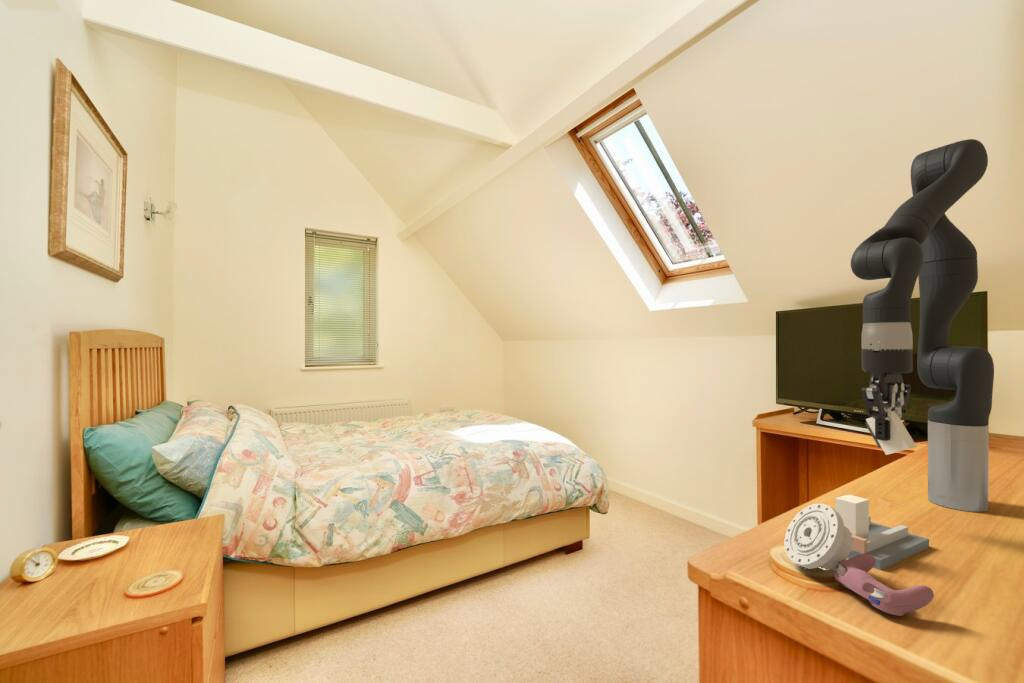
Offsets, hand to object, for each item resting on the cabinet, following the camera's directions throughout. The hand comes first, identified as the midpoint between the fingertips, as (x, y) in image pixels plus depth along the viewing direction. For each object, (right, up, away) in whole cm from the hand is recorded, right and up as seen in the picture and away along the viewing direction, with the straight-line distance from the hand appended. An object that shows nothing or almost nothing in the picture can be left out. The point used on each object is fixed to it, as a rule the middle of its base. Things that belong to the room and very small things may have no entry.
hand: (887, 438), depth 88 cm
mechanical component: (-27, -15, -16) cm, 35 cm away
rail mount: (-11, -16, -9) cm, 22 cm away
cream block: (+1, -2, -2) cm, 3 cm away
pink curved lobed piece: (-19, -14, -26) cm, 35 cm away
